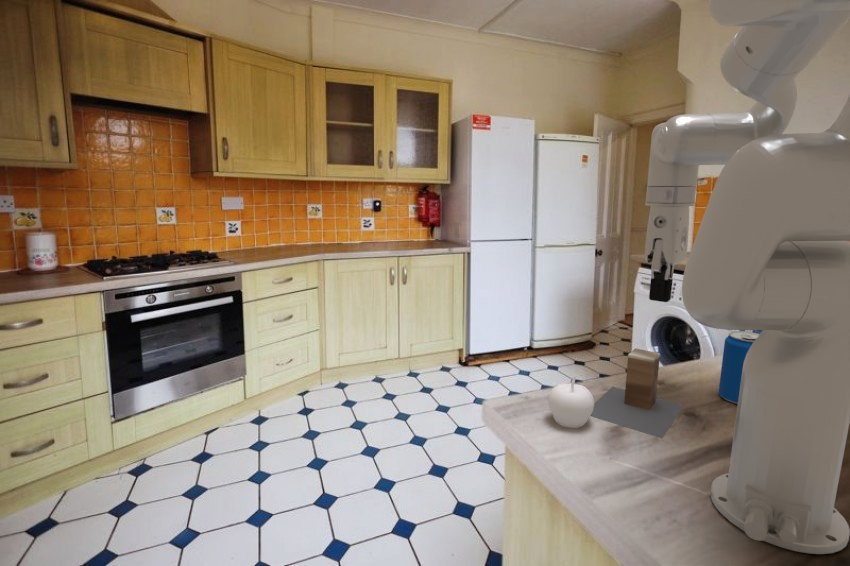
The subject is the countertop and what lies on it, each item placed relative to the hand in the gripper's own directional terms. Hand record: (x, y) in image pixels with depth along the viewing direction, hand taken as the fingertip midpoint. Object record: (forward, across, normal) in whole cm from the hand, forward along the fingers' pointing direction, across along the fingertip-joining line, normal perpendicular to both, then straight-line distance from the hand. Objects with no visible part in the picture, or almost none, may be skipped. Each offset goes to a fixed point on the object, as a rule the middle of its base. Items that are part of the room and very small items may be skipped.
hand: (659, 300), depth 83 cm
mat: (+17, -12, 0) cm, 21 cm away
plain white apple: (+17, -22, +6) cm, 29 cm away
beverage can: (+17, +4, -14) cm, 22 cm away
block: (+17, -9, 0) cm, 19 cm away
